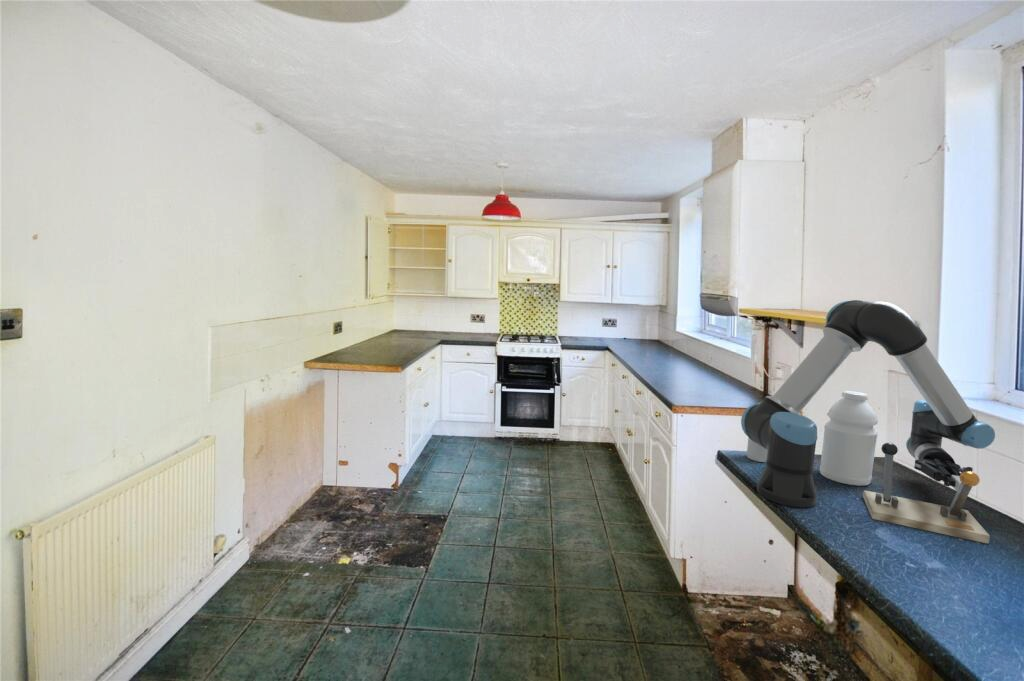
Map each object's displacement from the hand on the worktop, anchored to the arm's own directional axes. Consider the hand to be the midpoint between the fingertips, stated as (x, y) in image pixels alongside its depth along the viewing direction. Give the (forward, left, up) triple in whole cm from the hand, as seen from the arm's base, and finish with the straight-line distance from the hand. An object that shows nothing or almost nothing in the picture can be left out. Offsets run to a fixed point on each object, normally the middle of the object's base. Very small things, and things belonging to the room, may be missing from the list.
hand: (963, 489), depth 123 cm
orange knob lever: (-1, +2, -7) cm, 8 cm away
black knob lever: (-15, +2, -7) cm, 16 cm away
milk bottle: (-47, +28, -11) cm, 56 cm away
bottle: (-22, +25, -11) cm, 35 cm away
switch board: (-7, +2, -11) cm, 13 cm away
